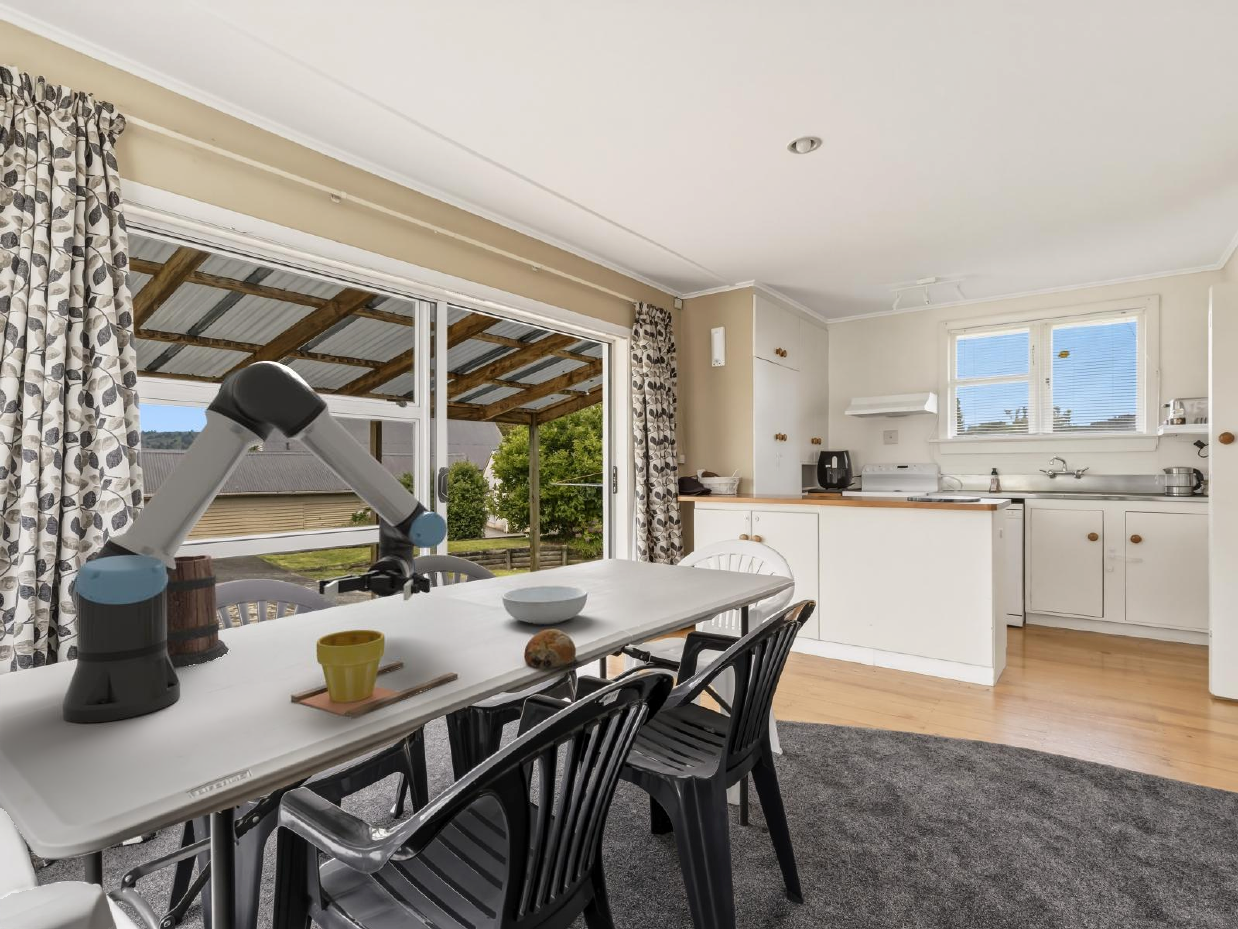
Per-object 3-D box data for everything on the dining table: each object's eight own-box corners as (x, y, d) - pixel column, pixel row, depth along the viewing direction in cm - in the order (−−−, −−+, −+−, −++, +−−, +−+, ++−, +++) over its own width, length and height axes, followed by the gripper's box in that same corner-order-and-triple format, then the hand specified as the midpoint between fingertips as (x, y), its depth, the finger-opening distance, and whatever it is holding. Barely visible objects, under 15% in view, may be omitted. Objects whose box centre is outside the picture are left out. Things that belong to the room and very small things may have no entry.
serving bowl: (542, 608, 180) (542, 582, 180) (604, 618, 168) (604, 590, 168) (484, 623, 163) (484, 594, 163) (548, 635, 151) (548, 604, 151)
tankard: (242, 655, 136) (242, 557, 136) (143, 675, 124) (142, 567, 124) (205, 636, 152) (205, 548, 152) (114, 652, 139) (113, 555, 139)
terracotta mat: (343, 715, 103) (343, 713, 103) (299, 702, 108) (299, 701, 108) (400, 694, 112) (400, 692, 112) (357, 683, 118) (357, 681, 118)
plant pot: (351, 711, 104) (351, 648, 104) (302, 702, 108) (302, 641, 108) (398, 690, 113) (397, 632, 113) (351, 683, 117) (351, 627, 117)
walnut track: (353, 718, 102) (352, 713, 102) (291, 700, 110) (291, 695, 110) (457, 678, 121) (457, 673, 121) (398, 665, 129) (398, 661, 129)
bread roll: (579, 681, 130) (592, 640, 132) (543, 669, 123) (556, 627, 126) (546, 671, 137) (558, 632, 139) (509, 659, 130) (523, 619, 132)
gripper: (448, 592, 143) (437, 613, 122) (325, 594, 139) (292, 616, 118) (449, 557, 143) (438, 571, 122) (326, 558, 140) (293, 573, 119)
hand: (366, 593), depth 120 cm, fingers open, 13 cm apart
